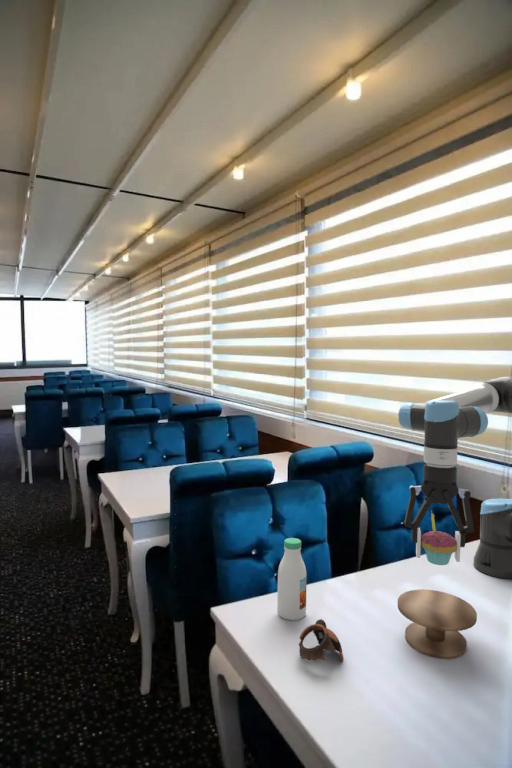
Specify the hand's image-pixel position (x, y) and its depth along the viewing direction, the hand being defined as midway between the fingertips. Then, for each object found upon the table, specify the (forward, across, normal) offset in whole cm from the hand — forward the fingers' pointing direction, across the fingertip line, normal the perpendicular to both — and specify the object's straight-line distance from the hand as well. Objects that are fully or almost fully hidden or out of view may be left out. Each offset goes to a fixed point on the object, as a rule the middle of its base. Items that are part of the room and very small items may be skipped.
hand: (437, 557), depth 116 cm
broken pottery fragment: (+21, -26, -13) cm, 36 cm away
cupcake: (+1, 0, 0) cm, 1 cm away
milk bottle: (+21, -36, +4) cm, 42 cm away
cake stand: (+21, 0, 0) cm, 21 cm away
